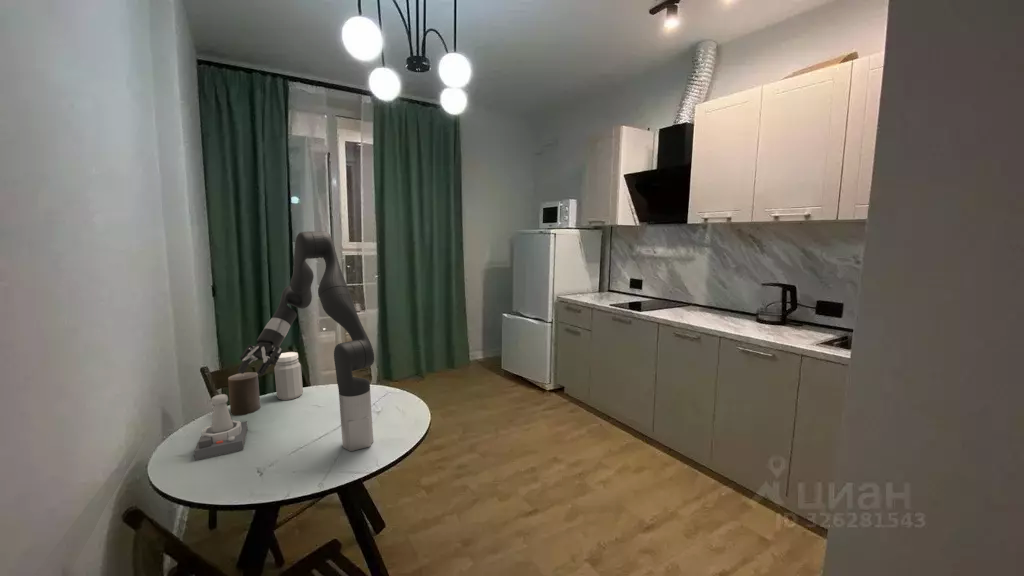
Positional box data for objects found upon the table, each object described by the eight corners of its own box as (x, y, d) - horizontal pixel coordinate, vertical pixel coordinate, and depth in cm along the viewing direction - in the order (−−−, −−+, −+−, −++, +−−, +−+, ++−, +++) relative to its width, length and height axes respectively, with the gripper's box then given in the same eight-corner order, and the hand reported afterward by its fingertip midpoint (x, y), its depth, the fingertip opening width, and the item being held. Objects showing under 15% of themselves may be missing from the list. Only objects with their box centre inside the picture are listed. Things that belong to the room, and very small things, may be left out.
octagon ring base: (243, 449, 127) (241, 433, 126) (195, 460, 121) (193, 442, 120) (247, 429, 141) (246, 414, 140) (205, 437, 135) (203, 422, 134)
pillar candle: (240, 417, 151) (237, 378, 149) (225, 412, 155) (221, 374, 153) (266, 407, 159) (263, 370, 158) (250, 403, 164) (247, 367, 162)
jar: (297, 390, 177) (293, 350, 175) (307, 395, 171) (304, 353, 169) (272, 397, 170) (269, 355, 168) (282, 402, 164) (278, 359, 161)
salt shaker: (215, 440, 127) (211, 400, 125) (209, 435, 130) (205, 396, 129) (237, 433, 131) (233, 394, 130) (230, 428, 135) (226, 391, 133)
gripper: (252, 326, 148) (225, 367, 139) (283, 328, 144) (258, 369, 134) (266, 337, 154) (241, 376, 144) (296, 339, 150) (273, 379, 140)
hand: (249, 373), depth 139 cm, fingers open, 8 cm apart
